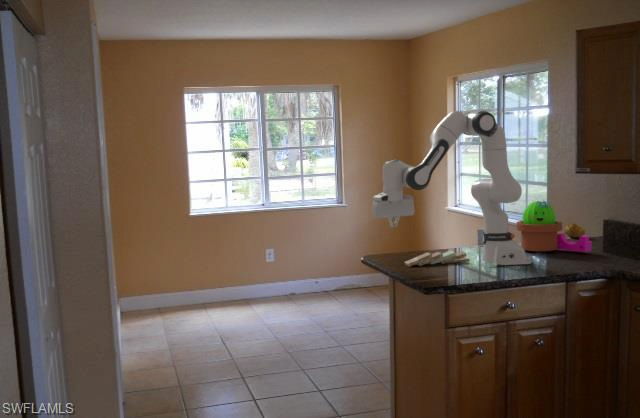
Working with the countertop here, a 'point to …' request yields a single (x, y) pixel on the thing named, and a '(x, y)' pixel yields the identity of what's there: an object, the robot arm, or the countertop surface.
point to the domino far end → (418, 259)
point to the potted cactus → (539, 227)
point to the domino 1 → (434, 257)
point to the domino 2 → (455, 257)
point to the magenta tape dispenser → (581, 245)
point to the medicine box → (480, 236)
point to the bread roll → (574, 230)
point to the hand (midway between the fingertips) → (393, 226)
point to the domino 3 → (460, 260)
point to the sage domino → (444, 257)
